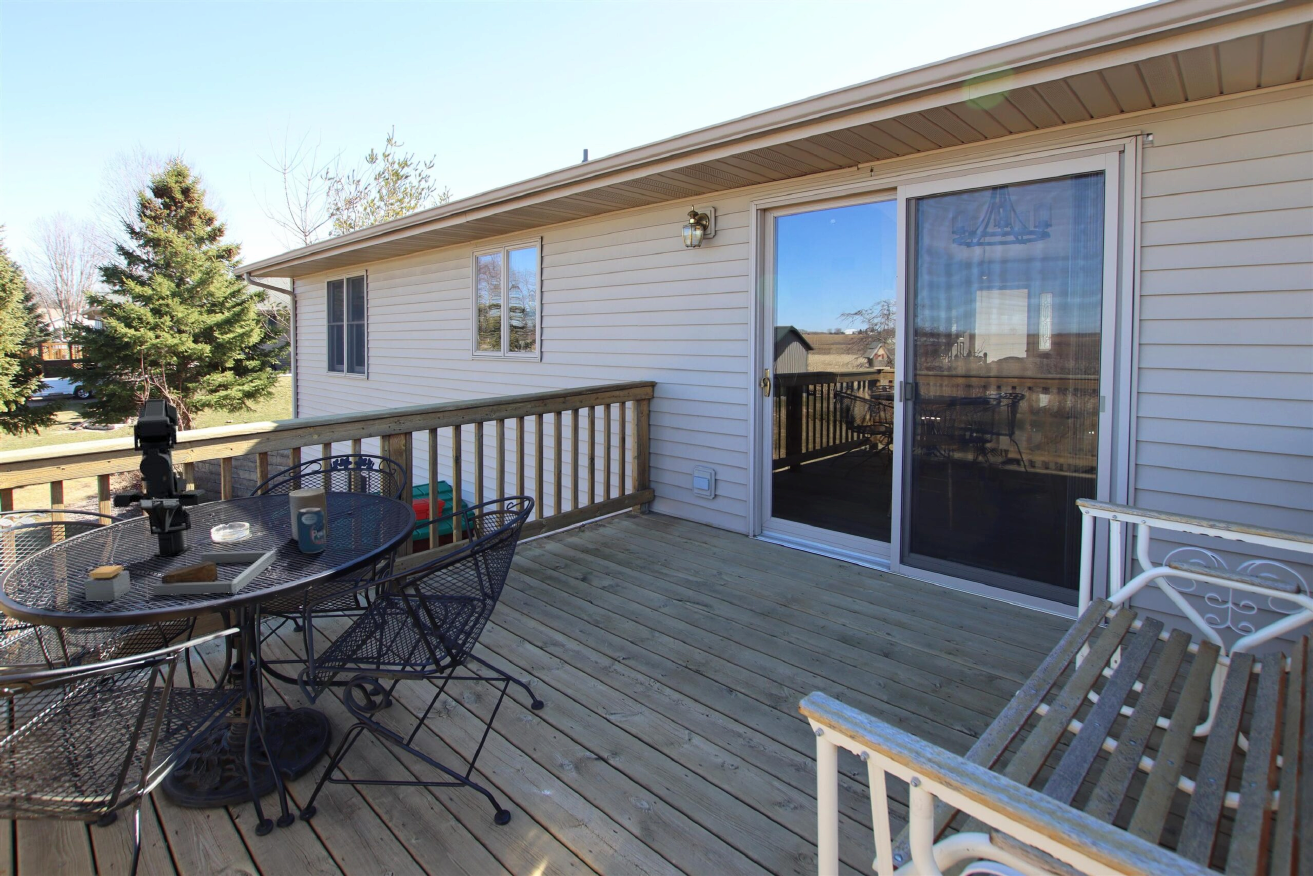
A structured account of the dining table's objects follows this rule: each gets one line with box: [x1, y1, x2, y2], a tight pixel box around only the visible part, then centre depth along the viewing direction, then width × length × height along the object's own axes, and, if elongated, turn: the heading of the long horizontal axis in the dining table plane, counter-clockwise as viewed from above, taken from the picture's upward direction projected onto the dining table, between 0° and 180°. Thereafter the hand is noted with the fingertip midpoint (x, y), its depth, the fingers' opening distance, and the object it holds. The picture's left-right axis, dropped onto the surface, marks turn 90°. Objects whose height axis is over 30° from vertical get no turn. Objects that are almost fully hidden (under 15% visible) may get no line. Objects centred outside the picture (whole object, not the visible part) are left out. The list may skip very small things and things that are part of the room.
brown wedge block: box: [161, 561, 219, 583], centre depth 169 cm, size 11×4×5 cm, turn 144°
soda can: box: [297, 506, 327, 554], centre depth 195 cm, size 7×7×12 cm
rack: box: [152, 550, 277, 596], centre depth 175 cm, size 24×18×2 cm
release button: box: [88, 565, 124, 579], centre depth 161 cm, size 4×4×5 cm
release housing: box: [83, 570, 132, 602], centre depth 161 cm, size 6×6×5 cm
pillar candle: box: [288, 487, 329, 541], centre depth 206 cm, size 10×10×15 cm
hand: (164, 531), depth 172 cm, fingers closed
